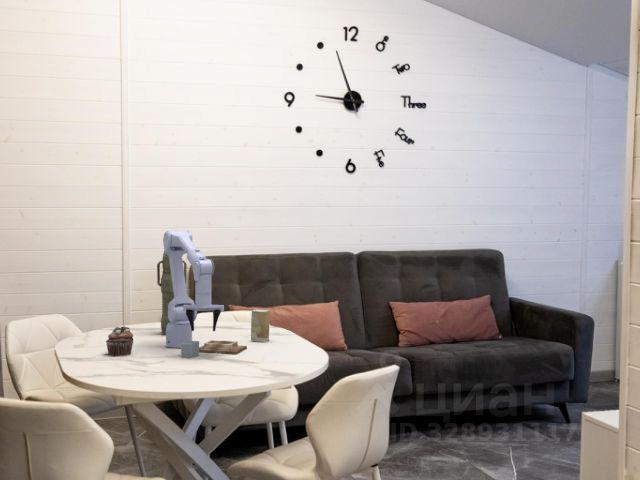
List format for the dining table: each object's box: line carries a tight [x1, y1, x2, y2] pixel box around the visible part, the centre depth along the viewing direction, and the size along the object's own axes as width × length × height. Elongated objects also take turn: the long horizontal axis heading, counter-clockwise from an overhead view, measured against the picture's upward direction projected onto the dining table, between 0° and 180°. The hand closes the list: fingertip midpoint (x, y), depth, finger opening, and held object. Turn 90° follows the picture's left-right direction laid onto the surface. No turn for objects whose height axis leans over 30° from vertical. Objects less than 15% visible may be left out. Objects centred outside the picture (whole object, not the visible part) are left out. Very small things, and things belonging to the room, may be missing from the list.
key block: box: [180, 340, 200, 359], centre depth 304 cm, size 4×7×5 cm, turn 167°
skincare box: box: [250, 309, 271, 343], centre depth 336 cm, size 6×4×12 cm
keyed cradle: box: [199, 339, 248, 355], centre depth 315 cm, size 16×12×3 cm
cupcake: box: [105, 325, 134, 357], centre depth 307 cm, size 10×10×10 cm
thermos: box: [156, 250, 188, 336], centre depth 350 cm, size 9×12×35 cm
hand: (203, 330), depth 306 cm, fingers open, 7 cm apart
